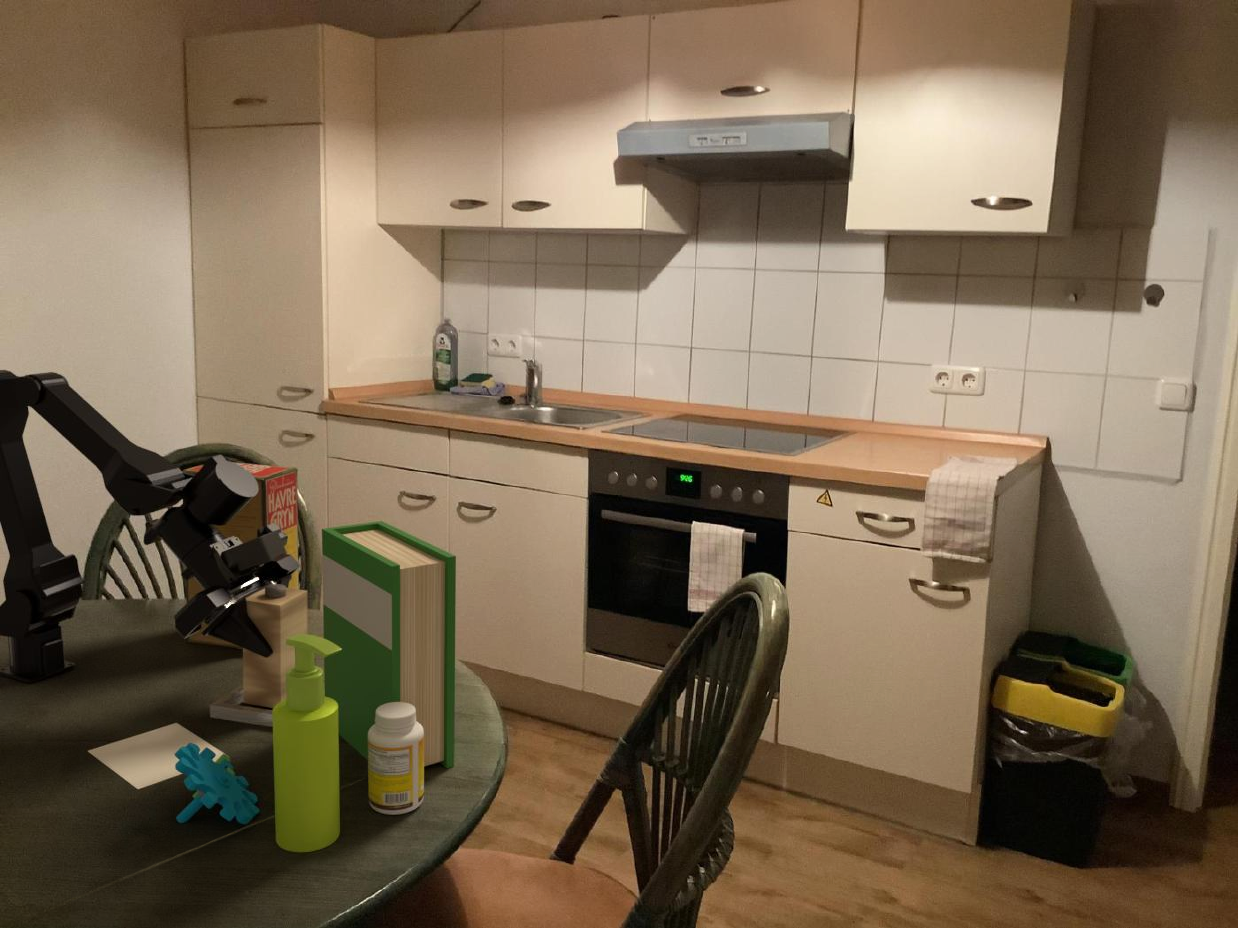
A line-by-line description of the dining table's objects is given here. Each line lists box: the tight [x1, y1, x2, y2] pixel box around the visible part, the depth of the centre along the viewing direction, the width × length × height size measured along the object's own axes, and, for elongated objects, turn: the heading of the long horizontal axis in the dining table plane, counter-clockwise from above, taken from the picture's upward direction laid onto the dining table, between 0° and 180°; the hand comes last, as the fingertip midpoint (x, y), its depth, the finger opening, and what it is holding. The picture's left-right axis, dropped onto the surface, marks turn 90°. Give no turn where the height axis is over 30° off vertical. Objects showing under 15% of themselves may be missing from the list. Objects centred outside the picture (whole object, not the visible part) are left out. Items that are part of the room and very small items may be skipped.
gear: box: [174, 743, 261, 825], centre depth 100 cm, size 11×6×10 cm
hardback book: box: [321, 520, 457, 769], centre depth 115 cm, size 18×7×24 cm, turn 39°
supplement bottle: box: [367, 702, 425, 816], centre depth 103 cm, size 6×6×10 cm
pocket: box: [209, 683, 325, 728], centre depth 125 cm, size 11×11×2 cm
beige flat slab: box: [87, 722, 230, 790], centre depth 112 cm, size 12×10×1 cm
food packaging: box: [182, 462, 300, 650], centre depth 146 cm, size 13×9×25 cm
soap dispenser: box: [272, 633, 342, 853], centre depth 96 cm, size 6×7×20 cm
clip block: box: [242, 584, 308, 709], centre depth 124 cm, size 5×6×14 cm
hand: (284, 646), depth 124 cm, fingers closed on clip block, 6 cm apart
